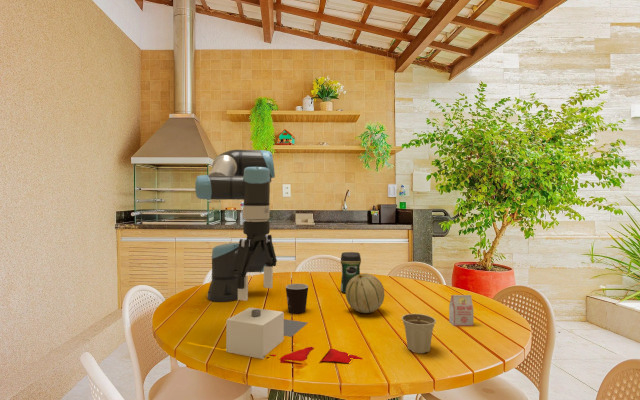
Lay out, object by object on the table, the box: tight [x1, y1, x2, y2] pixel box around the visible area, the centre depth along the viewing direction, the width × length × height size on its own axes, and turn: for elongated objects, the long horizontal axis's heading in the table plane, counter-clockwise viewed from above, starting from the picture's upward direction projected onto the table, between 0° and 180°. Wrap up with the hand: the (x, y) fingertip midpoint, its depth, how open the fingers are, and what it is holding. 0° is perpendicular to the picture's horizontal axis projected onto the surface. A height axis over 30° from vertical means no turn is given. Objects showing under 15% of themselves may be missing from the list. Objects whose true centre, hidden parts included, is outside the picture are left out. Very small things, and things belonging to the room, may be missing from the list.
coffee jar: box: [340, 251, 362, 294], centre depth 157 cm, size 10×8×19 cm
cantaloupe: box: [345, 273, 385, 314], centre depth 128 cm, size 15×15×15 cm
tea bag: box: [448, 294, 474, 327], centre depth 116 cm, size 4×7×10 cm, turn 91°
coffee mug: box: [285, 283, 309, 315], centre depth 129 cm, size 12×9×10 cm
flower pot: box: [401, 313, 437, 354], centre depth 96 cm, size 9×9×9 cm
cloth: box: [265, 346, 363, 366], centre depth 91 cm, size 26×14×2 cm, turn 78°
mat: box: [284, 318, 308, 338], centre depth 112 cm, size 14×13×1 cm
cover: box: [225, 307, 285, 360], centre depth 97 cm, size 12×12×10 cm
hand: (256, 293), depth 98 cm, fingers open, 13 cm apart
